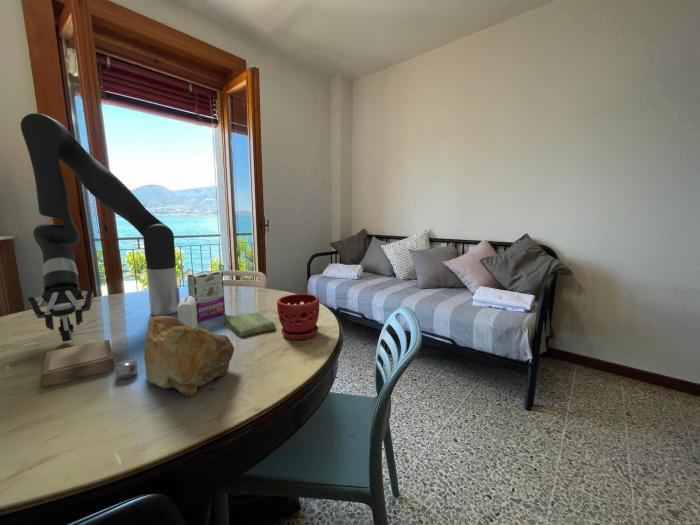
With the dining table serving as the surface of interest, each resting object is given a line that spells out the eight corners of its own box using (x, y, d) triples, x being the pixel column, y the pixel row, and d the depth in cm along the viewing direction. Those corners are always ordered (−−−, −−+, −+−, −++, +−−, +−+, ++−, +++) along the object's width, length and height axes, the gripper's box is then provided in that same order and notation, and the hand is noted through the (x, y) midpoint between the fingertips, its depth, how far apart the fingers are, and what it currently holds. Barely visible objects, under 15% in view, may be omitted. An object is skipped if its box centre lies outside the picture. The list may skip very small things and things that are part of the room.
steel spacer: (136, 369, 72) (135, 358, 72) (138, 376, 69) (137, 364, 69) (115, 375, 69) (114, 363, 69) (117, 382, 66) (115, 370, 66)
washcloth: (258, 316, 113) (258, 308, 112) (277, 331, 99) (277, 321, 98) (221, 323, 105) (221, 314, 104) (237, 340, 91) (237, 330, 90)
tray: (110, 349, 82) (108, 338, 81) (114, 369, 72) (113, 357, 71) (48, 363, 74) (46, 350, 73) (43, 388, 64) (41, 373, 63)
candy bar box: (217, 311, 116) (215, 269, 113) (225, 313, 113) (223, 271, 111) (189, 319, 106) (186, 274, 104) (197, 322, 104) (194, 276, 101)
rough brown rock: (255, 386, 68) (257, 321, 67) (176, 416, 55) (177, 337, 54) (208, 356, 83) (209, 303, 82) (137, 375, 70) (137, 312, 69)
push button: (53, 337, 85) (47, 303, 83) (78, 331, 89) (72, 299, 87) (55, 344, 81) (49, 309, 79) (81, 338, 85) (76, 304, 83)
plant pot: (303, 324, 105) (303, 290, 103) (327, 335, 95) (327, 298, 94) (269, 333, 96) (269, 297, 94) (293, 346, 86) (292, 307, 84)
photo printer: (184, 330, 96) (181, 293, 94) (198, 329, 98) (196, 292, 96) (178, 343, 87) (175, 302, 85) (194, 341, 88) (192, 301, 86)
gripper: (23, 272, 82) (24, 326, 76) (91, 266, 92) (97, 313, 85) (29, 287, 87) (30, 339, 80) (93, 280, 97) (99, 326, 90)
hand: (65, 325), depth 83 cm, fingers closed on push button, 4 cm apart
